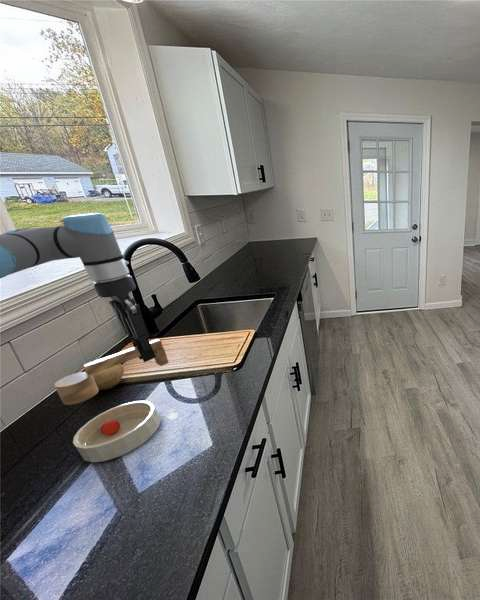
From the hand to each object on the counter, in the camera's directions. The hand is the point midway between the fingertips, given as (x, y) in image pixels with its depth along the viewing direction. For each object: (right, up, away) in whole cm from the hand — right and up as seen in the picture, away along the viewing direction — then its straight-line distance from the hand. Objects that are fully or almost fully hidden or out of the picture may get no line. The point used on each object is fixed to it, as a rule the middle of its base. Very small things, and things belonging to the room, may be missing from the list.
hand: (147, 358), depth 87 cm
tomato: (-4, -16, -7) cm, 18 cm away
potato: (-24, -12, +14) cm, 30 cm away
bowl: (0, -19, -7) cm, 20 cm away
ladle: (-4, -5, -4) cm, 8 cm away
